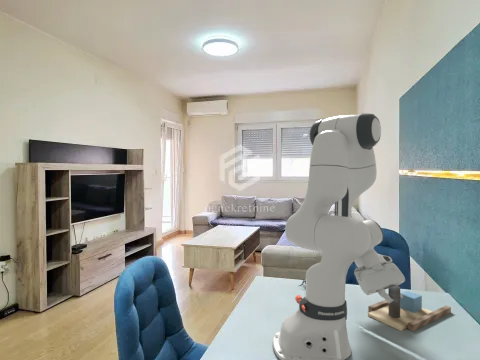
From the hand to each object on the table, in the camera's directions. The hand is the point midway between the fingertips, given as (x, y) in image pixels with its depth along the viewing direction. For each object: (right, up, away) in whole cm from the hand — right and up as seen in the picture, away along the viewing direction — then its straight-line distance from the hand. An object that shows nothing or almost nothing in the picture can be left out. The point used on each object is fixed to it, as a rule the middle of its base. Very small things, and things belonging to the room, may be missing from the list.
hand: (396, 300), depth 101 cm
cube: (+8, -5, +6) cm, 11 cm away
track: (+8, -7, +5) cm, 12 cm away
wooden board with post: (+3, -6, +3) cm, 8 cm away
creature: (-23, -7, +33) cm, 41 cm away
